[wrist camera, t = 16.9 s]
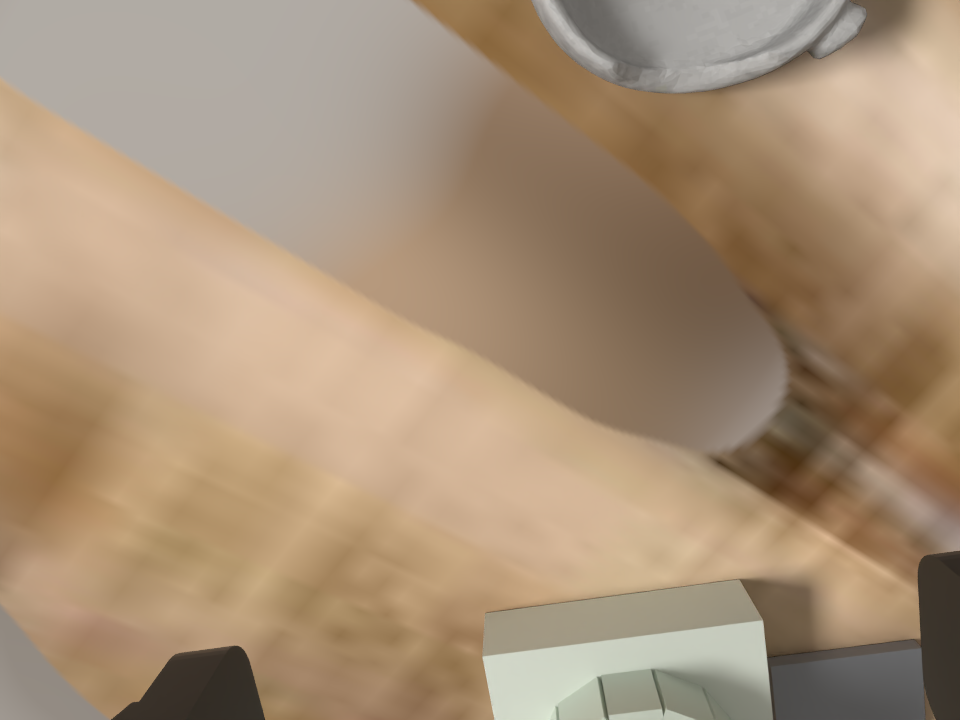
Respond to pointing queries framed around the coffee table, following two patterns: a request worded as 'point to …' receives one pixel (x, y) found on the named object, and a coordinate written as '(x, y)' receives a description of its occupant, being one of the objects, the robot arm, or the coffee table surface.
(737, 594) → the pedestal block
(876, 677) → the slate coaster
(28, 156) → the coffee table surface
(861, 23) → the dish
